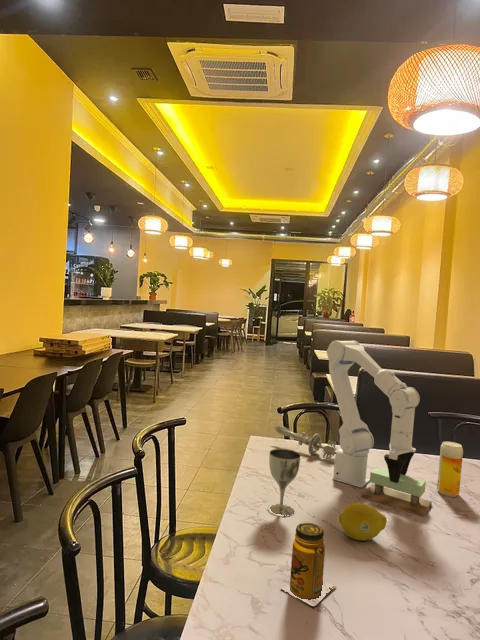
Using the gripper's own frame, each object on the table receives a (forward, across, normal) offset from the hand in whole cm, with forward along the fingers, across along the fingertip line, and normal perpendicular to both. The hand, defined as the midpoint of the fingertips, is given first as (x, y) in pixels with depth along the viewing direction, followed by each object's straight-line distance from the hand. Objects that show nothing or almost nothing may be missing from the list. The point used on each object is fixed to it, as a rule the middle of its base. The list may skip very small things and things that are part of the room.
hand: (398, 477), depth 126 cm
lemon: (+7, -27, 0) cm, 28 cm away
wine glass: (+7, -28, +22) cm, 36 cm away
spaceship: (+7, +18, +34) cm, 40 cm away
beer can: (+7, +17, -10) cm, 21 cm away
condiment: (+7, -52, +2) cm, 52 cm away
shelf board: (+3, 0, 0) cm, 3 cm away
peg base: (+7, 0, 0) cm, 7 cm away
